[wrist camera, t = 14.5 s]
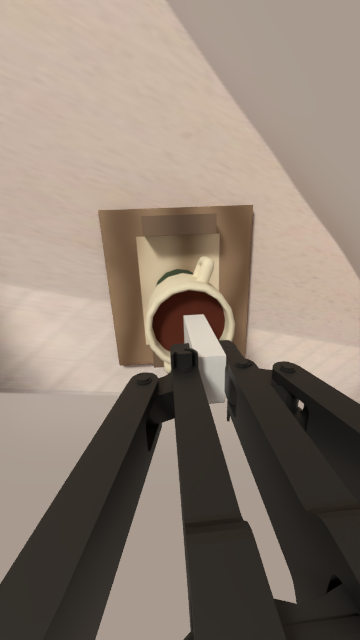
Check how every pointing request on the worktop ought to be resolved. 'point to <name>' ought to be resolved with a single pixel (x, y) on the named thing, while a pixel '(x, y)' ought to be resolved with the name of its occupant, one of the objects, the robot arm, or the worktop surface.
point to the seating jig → (172, 264)
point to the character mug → (185, 308)
